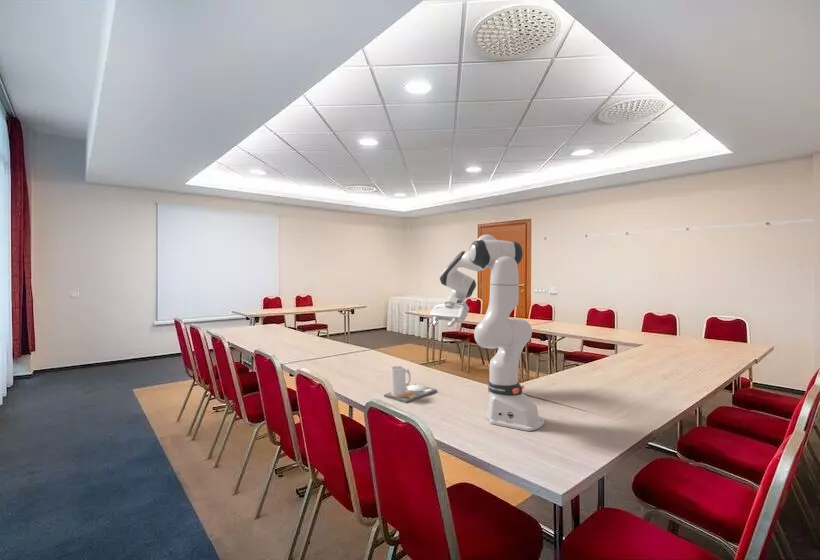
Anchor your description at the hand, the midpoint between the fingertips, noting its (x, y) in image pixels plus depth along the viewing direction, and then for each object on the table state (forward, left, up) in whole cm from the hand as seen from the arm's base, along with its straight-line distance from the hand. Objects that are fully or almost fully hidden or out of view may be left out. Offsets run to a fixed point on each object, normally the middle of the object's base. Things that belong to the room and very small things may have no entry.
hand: (441, 325), depth 195 cm
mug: (+7, +22, -30) cm, 38 cm away
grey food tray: (+6, +16, -31) cm, 36 cm away
